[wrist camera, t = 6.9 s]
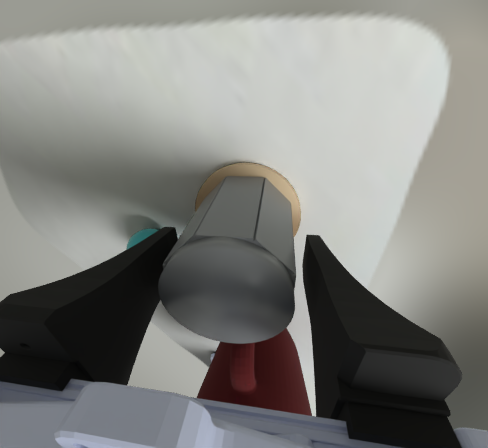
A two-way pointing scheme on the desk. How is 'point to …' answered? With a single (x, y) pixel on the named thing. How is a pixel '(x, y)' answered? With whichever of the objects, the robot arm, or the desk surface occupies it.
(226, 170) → the tan round coaster
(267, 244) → the faceted grey cylinder
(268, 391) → the mug
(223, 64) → the desk surface
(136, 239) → the marble
